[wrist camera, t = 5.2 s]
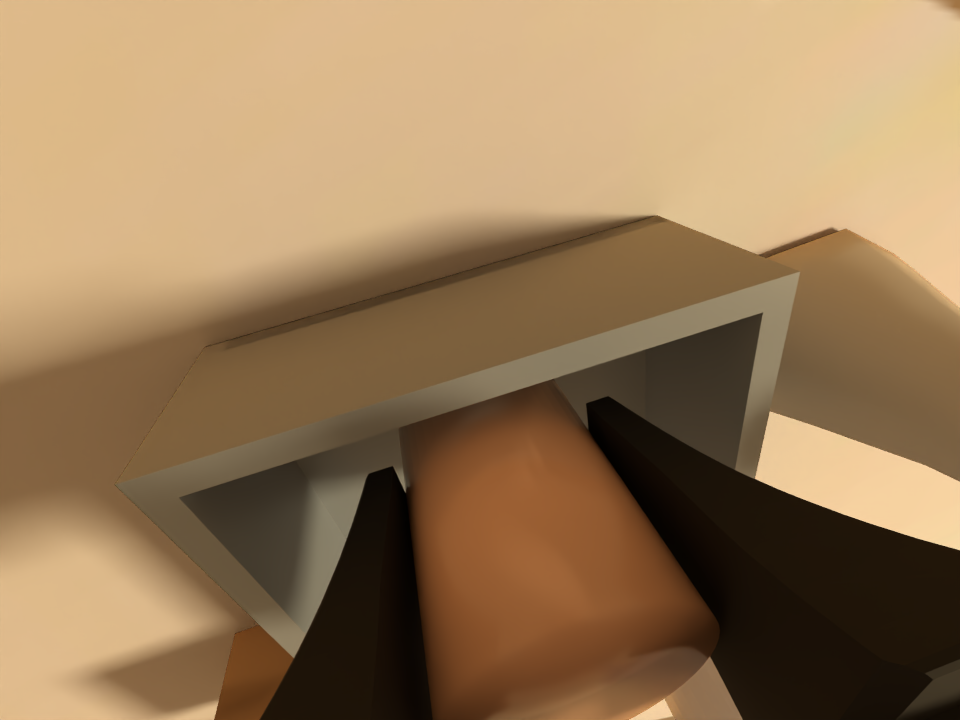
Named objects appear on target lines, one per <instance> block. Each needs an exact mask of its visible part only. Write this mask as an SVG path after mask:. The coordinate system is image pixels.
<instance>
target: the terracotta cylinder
mask: <svg viewBox="0 0 960 720" xmlns="http://www.w3.org/2000/svg"><path fill="white" fill-rule="evenodd" d="M399 440H400V448H401V457H402V465H403V474H404V482H405V490H406V499H407V507H408V516H409V524H410V532H411V541H412V549H413V558H414V566H415V574H416V583H417V591H418V600H419V608H420V616H421V625H422V633H423V642H424V650H425V658H426V667H427V675H428V684H429V692H430V700H431V709H432V717H433V720H629V719H631V718H633V717H635V716H637V715H638V714H640V713H642V712H644V711H645V710H647V709H649V708H650V707H652V706H654V705H655V704H657V703H658V702H660V701H661V700H663V699H664V698H666V697H667V696H669V695H670V694H671V693H673V692H674V691H675V690H677V689H678V688H679V687H681V686H682V685H683V684H684V683H685V682H687V681H688V680H689V679H690V678H691V677H692V676H693V675H694V674H695V673H696V672H697V671H698V670H699V669H700V668H701V667H702V666H703V665H704V664H705V662H706V661H707V660H708V658H709V657H710V656H711V654H712V652H713V651H714V649H715V647H716V645H717V642H718V640H719V634H720V628H719V623H718V621H717V620H716V618H715V616H714V615H713V613H712V612H711V610H710V609H709V607H708V606H707V604H706V603H705V601H704V600H703V599H702V597H701V596H700V594H699V593H698V591H697V590H696V588H695V587H694V585H693V584H692V582H691V581H690V579H689V578H688V576H687V575H686V573H685V572H684V570H683V569H682V568H681V566H680V565H679V563H678V562H677V560H676V559H675V557H674V556H673V554H672V553H671V551H670V550H669V548H668V547H667V545H666V544H665V542H664V541H663V539H662V538H661V537H660V535H659V534H658V532H657V531H656V529H655V528H654V526H653V525H652V523H651V522H650V520H649V519H648V517H647V516H646V514H645V513H644V511H643V510H642V508H641V507H640V506H639V504H638V503H637V501H636V500H635V498H634V497H633V495H632V494H631V492H630V491H629V489H628V488H627V486H626V485H625V483H624V482H623V480H622V479H621V477H620V476H619V475H618V473H617V472H616V470H615V469H614V467H613V466H612V464H611V463H610V461H609V460H608V458H607V457H606V455H605V454H604V452H603V451H602V449H601V448H600V446H599V445H598V443H597V442H596V441H595V439H594V438H593V436H592V435H591V433H590V432H589V430H588V429H587V427H586V426H585V424H584V423H583V421H582V420H581V418H580V417H579V415H578V414H577V412H576V411H575V410H574V408H573V407H572V405H571V404H570V402H569V401H568V399H567V398H566V396H565V395H564V393H563V392H562V390H561V389H560V387H559V386H558V384H557V383H556V381H555V380H554V379H551V380H548V381H544V382H541V383H538V384H535V385H532V386H529V387H526V388H522V389H519V390H516V391H513V392H510V393H507V394H503V395H500V396H497V397H494V398H491V399H488V400H485V401H481V402H478V403H475V404H472V405H469V406H466V407H462V408H459V409H456V410H453V411H450V412H447V413H443V414H440V415H437V416H434V417H431V418H428V419H425V420H421V421H418V422H415V423H412V424H409V425H406V426H402V427H399Z"/></svg>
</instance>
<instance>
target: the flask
mask: <svg viewBox="0 0 960 720" xmlns="http://www.w3.org/2000/svg"><path fill="white" fill-rule="evenodd" d="M767 259H770V260H772V261H775V262H777V263H780V264H782V265H785V266H787V267H790V268H793V269H795V270H798V271H800V275H799V279H798V284H797V289H796V293H795V298H794V302H793V307H792V311H791V316H790V321H789V325H788V330H787V334H786V339H785V343H784V348H783V352H782V357H781V362H780V366H779V371H778V375H777V380H776V384H775V389H774V393H773V398H772V403H771V407H770V411H771V412H774V413H777V414H780V415H783V416H786V417H789V418H792V419H796V420H799V421H802V422H805V423H808V424H811V425H814V426H817V427H820V428H822V429H825V430H828V431H831V432H834V433H836V434H839V435H842V436H845V437H848V438H850V439H853V440H856V441H859V442H862V443H865V444H867V445H870V446H873V447H876V448H879V449H881V450H884V451H887V452H890V453H893V454H895V455H898V456H901V457H904V458H907V459H909V460H912V461H915V462H918V463H921V464H923V465H926V466H928V467H930V468H932V469H935V470H937V471H939V472H941V473H943V474H945V475H947V476H949V477H951V478H954V479H956V480H958V481H960V308H959V307H958V306H957V305H956V304H954V303H953V302H952V301H951V300H950V299H949V298H947V297H946V296H945V295H944V294H943V293H941V292H940V291H939V290H938V289H937V288H936V287H934V286H933V285H932V284H931V283H930V282H928V281H927V280H926V279H925V278H924V277H923V276H921V275H920V274H919V273H918V272H917V271H915V270H914V269H913V268H912V267H910V266H909V265H908V264H907V263H905V262H904V261H903V260H901V259H900V258H899V257H898V256H896V255H895V254H894V253H892V252H890V251H888V250H886V249H884V248H882V247H880V246H878V245H876V244H874V243H872V242H871V241H869V240H867V239H865V238H863V237H861V236H859V235H857V234H855V233H853V232H851V231H849V230H847V229H844V230H841V231H838V232H835V233H833V234H830V235H827V236H824V237H822V238H819V239H816V240H813V241H811V242H808V243H805V244H803V245H800V246H797V247H794V248H792V249H789V250H786V251H783V252H781V253H778V254H775V255H772V256H770V257H767Z"/></svg>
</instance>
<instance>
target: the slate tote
mask: <svg viewBox="0 0 960 720" xmlns="http://www.w3.org/2000/svg"><path fill="white" fill-rule="evenodd" d="M799 275H800V271H798V270H795V269H793V268H790V267H787V266H785V265H782V264H780V263H777V262H775V261H772V260H770V259H767V258H764V257H762V256H759V255H757V254H754V253H752V252H749V251H747V250H744V249H742V248H739V247H736V246H734V245H731V244H729V243H726V242H724V241H721V240H719V239H716V238H713V237H711V236H708V235H706V234H703V233H701V232H698V231H696V230H693V229H690V228H688V227H685V226H683V225H680V224H678V223H675V222H673V221H670V220H667V219H665V218H662V217H660V216H654V217H650V218H647V219H644V220H640V221H637V222H633V223H630V224H626V225H623V226H620V227H616V228H613V229H609V230H606V231H602V232H599V233H596V234H592V235H589V236H585V237H582V238H578V239H575V240H572V241H568V242H565V243H561V244H558V245H554V246H551V247H548V248H544V249H541V250H537V251H534V252H530V253H527V254H524V255H520V256H517V257H513V258H510V259H506V260H503V261H499V262H496V263H493V264H489V265H486V266H482V267H479V268H475V269H472V270H469V271H465V272H462V273H458V274H455V275H451V276H448V277H445V278H441V279H438V280H434V281H431V282H427V283H424V284H421V285H417V286H414V287H410V288H407V289H403V290H400V291H397V292H393V293H390V294H386V295H383V296H379V297H376V298H373V299H369V300H366V301H362V302H359V303H355V304H352V305H349V306H345V307H342V308H338V309H335V310H331V311H328V312H324V313H321V314H318V315H314V316H311V317H307V318H304V319H300V320H297V321H294V322H290V323H287V324H283V325H280V326H276V327H273V328H270V329H266V330H263V331H259V332H256V333H252V334H249V335H246V336H242V337H239V338H235V339H232V340H228V341H225V342H222V343H218V344H215V345H211V346H208V347H204V349H203V350H202V352H201V354H200V355H199V357H198V358H197V360H196V361H195V363H194V364H193V366H192V367H191V369H190V370H189V372H188V373H187V375H186V376H185V378H184V379H183V381H182V383H181V384H180V386H179V387H178V389H177V390H176V392H175V393H174V395H173V396H172V398H171V399H170V401H169V402H168V404H167V405H166V407H165V409H164V410H163V412H162V413H161V415H160V416H159V418H158V419H157V421H156V422H155V424H154V425H153V427H152V428H151V430H150V431H149V433H148V434H147V436H146V438H145V439H144V441H143V442H142V444H141V445H140V447H139V448H138V450H137V451H136V453H135V454H134V456H133V457H132V459H131V460H130V462H129V463H128V465H127V467H126V468H125V470H124V471H123V473H122V474H121V476H120V477H119V479H118V480H117V482H116V483H115V486H116V487H117V488H118V489H119V490H121V491H122V492H123V493H124V494H125V495H126V496H127V497H128V498H129V499H130V500H131V501H132V502H133V503H134V504H135V505H136V506H137V507H138V508H139V509H140V510H141V511H142V512H143V513H144V514H145V515H146V516H147V517H148V518H149V519H150V520H152V521H153V522H154V523H155V524H156V525H157V526H158V527H159V528H160V529H161V530H162V531H163V532H164V533H165V534H166V535H167V536H168V537H169V538H170V539H171V540H172V541H173V542H174V543H175V544H176V545H177V546H178V547H179V548H180V549H181V550H183V551H184V552H185V553H186V554H187V555H188V556H189V557H190V558H191V559H192V560H193V561H194V562H195V563H196V564H197V565H198V566H199V567H200V568H201V569H202V570H203V571H204V572H205V573H206V574H207V575H208V576H209V577H210V578H211V579H212V580H214V581H215V582H216V583H217V584H218V585H219V586H220V587H221V588H222V589H223V590H224V591H225V592H226V593H227V594H228V595H229V596H230V597H231V598H232V599H233V600H234V601H235V602H236V603H237V604H238V605H239V606H240V607H241V608H242V609H244V610H245V611H246V612H247V613H248V614H249V615H250V616H251V617H252V618H253V619H254V620H255V621H256V622H257V623H258V624H259V625H260V626H261V627H262V628H263V629H264V630H265V631H266V632H267V633H268V634H269V635H270V636H271V637H272V638H273V639H275V640H276V641H277V642H278V643H279V644H280V645H281V646H282V647H283V648H284V649H285V650H286V651H287V652H288V653H289V654H290V655H291V656H292V657H293V658H294V657H295V655H296V653H297V651H298V649H299V647H300V645H301V643H302V641H303V639H304V637H305V635H306V633H307V631H308V629H309V627H310V625H311V623H312V621H313V619H314V617H315V614H316V612H317V610H318V608H319V606H320V604H321V601H322V599H323V597H324V594H325V592H326V590H327V587H328V585H329V582H330V580H331V578H332V575H333V573H334V571H335V568H336V566H337V563H338V561H339V558H340V556H341V553H342V550H343V547H344V545H345V542H346V539H347V536H348V534H349V531H350V528H351V525H352V522H353V519H354V516H355V513H356V510H357V507H358V504H359V501H360V497H361V494H362V491H363V487H364V484H365V480H366V477H367V476H368V474H369V473H372V472H375V471H378V470H381V469H384V468H388V467H391V466H393V467H394V469H395V472H396V474H397V476H398V478H399V480H400V482H401V484H402V486H403V489H404V491H405V493H406V490H405V482H404V474H403V465H402V457H401V448H400V440H399V427H402V426H406V425H409V424H412V423H415V422H418V421H421V420H425V419H428V418H431V417H434V416H437V415H440V414H443V413H447V412H450V411H453V410H456V409H459V408H462V407H466V406H469V405H472V404H475V403H478V402H481V401H485V400H488V399H491V398H494V397H497V396H500V395H503V394H507V393H510V392H513V391H516V390H519V389H522V388H526V387H529V386H532V385H535V384H538V383H541V382H544V381H548V380H551V379H554V380H555V381H556V383H557V384H558V386H559V387H560V389H561V390H562V392H563V393H564V395H565V396H566V398H567V399H568V401H569V402H570V404H571V405H572V407H573V408H574V410H575V411H576V412H577V414H578V415H579V417H580V418H581V420H582V421H583V423H584V424H585V426H586V427H587V429H588V419H587V409H586V403H588V402H591V401H594V400H598V399H601V398H604V397H607V396H609V397H611V398H612V399H614V400H616V401H617V402H619V403H620V404H622V405H623V406H625V407H627V408H628V409H630V410H631V411H633V412H634V413H636V414H637V415H639V416H641V417H642V418H644V419H645V420H647V421H649V422H650V423H652V424H653V425H655V426H657V427H658V428H660V429H662V430H663V431H665V432H667V433H668V434H670V435H672V436H673V437H675V438H677V439H679V440H680V441H682V442H684V443H685V444H687V445H689V446H691V447H692V448H694V449H696V450H698V451H700V452H701V453H703V454H705V455H707V456H709V457H711V458H713V459H715V460H717V461H719V462H720V463H722V464H724V465H726V466H728V467H730V468H732V469H734V470H736V471H738V472H740V473H743V474H745V475H747V476H749V477H751V478H754V479H755V476H756V471H757V466H758V462H759V457H760V453H761V448H762V444H763V439H764V435H765V430H766V425H767V421H768V416H769V412H770V407H771V403H772V398H773V393H774V389H775V384H776V380H777V375H778V371H779V366H780V362H781V357H782V352H783V348H784V343H785V339H786V334H787V330H788V325H789V321H790V316H791V311H792V307H793V302H794V298H795V293H796V289H797V284H798V279H799Z"/></svg>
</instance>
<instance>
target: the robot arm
mask: <svg viewBox="0 0 960 720" xmlns="http://www.w3.org/2000/svg"><path fill="white" fill-rule="evenodd" d="M586 409H587V419H588V430H589V432H590V433H591V435H592V436H593V438H594V439H595V441H596V442H597V443H598V445H599V446H600V448H601V449H602V451H603V452H604V454H605V455H606V457H607V458H608V460H609V461H610V463H611V464H612V466H613V467H614V469H615V470H616V472H617V473H618V475H619V476H620V477H621V479H622V480H623V482H624V483H625V485H626V486H627V488H628V489H629V491H630V492H631V494H632V495H633V497H634V498H635V500H636V501H637V503H638V504H639V506H640V507H641V508H642V510H643V511H644V513H645V514H646V516H647V517H648V519H649V520H650V522H651V523H652V525H653V526H654V528H655V529H656V531H657V532H658V534H659V535H660V537H661V538H662V539H663V541H664V542H665V544H666V545H667V547H668V548H669V550H670V551H671V553H672V554H673V556H674V557H675V559H676V560H677V562H678V563H679V565H680V566H681V568H682V569H683V570H684V572H685V573H686V575H687V576H688V578H689V579H690V581H691V582H692V584H693V585H694V587H695V588H696V590H697V591H698V593H699V594H700V596H701V597H702V599H703V600H704V601H705V603H706V604H707V606H708V607H709V609H710V610H711V612H712V613H713V615H714V616H715V618H716V620H717V621H718V623H719V628H720V634H719V640H718V642H717V645H716V647H715V649H714V651H713V652H712V654H711V656H710V657H709V658H708V660H707V661H706V662H705V664H704V665H703V666H702V667H701V668H700V669H699V670H698V671H697V672H696V673H695V674H694V675H693V676H692V677H691V678H690V679H689V680H688V681H687V682H685V683H684V684H683V685H682V686H681V687H679V688H678V689H677V690H675V691H674V692H673V693H671V694H670V695H669V696H667V697H666V698H664V699H665V701H666V703H667V705H668V707H669V709H670V711H671V713H672V715H673V717H674V719H675V720H960V550H957V549H953V548H949V547H946V546H942V545H938V544H935V543H931V542H927V541H924V540H920V539H917V538H914V537H910V536H907V535H904V534H901V533H898V532H895V531H891V530H888V529H885V528H882V527H879V526H876V525H873V524H869V523H866V522H864V521H861V520H858V519H855V518H852V517H849V516H846V515H843V514H841V513H838V512H835V511H833V510H830V509H827V508H825V507H822V506H819V505H816V504H814V503H811V502H808V501H806V500H803V499H800V498H798V497H795V496H793V495H791V494H788V493H786V492H783V491H781V490H778V489H776V488H774V487H772V486H769V485H767V484H765V483H763V482H760V481H758V480H756V479H754V478H751V477H749V476H747V475H745V474H743V473H740V472H738V471H736V470H734V469H732V468H730V467H728V466H726V465H724V464H722V463H720V462H719V461H717V460H715V459H713V458H711V457H709V456H707V455H705V454H703V453H701V452H700V451H698V450H696V449H694V448H692V447H691V446H689V445H687V444H685V443H684V442H682V441H680V440H679V439H677V438H675V437H673V436H672V435H670V434H668V433H667V432H665V431H663V430H662V429H660V428H658V427H657V426H655V425H653V424H652V423H650V422H649V421H647V420H645V419H644V418H642V417H641V416H639V415H637V414H636V413H634V412H633V411H631V410H630V409H628V408H627V407H625V406H623V405H622V404H620V403H619V402H617V401H616V400H614V399H612V398H611V397H609V396H607V397H604V398H601V399H598V400H594V401H591V402H588V403H586ZM259 720H433V717H432V709H431V700H430V692H429V684H428V675H427V667H426V658H425V650H424V642H423V633H422V625H421V616H420V608H419V600H418V591H417V583H416V574H415V566H414V558H413V549H412V541H411V532H410V524H409V516H408V507H407V499H406V493H405V491H404V489H403V486H402V484H401V482H400V480H399V478H398V476H397V474H396V472H395V469H394V467H393V466H391V467H388V468H384V469H381V470H378V471H375V472H372V473H369V474H368V476H367V477H366V480H365V484H364V487H363V491H362V494H361V497H360V501H359V504H358V507H357V510H356V513H355V516H354V519H353V522H352V525H351V528H350V531H349V534H348V536H347V539H346V542H345V545H344V547H343V550H342V553H341V556H340V558H339V561H338V563H337V566H336V568H335V571H334V573H333V575H332V578H331V580H330V582H329V585H328V587H327V590H326V592H325V594H324V597H323V599H322V601H321V604H320V606H319V608H318V610H317V612H316V614H315V617H314V619H313V621H312V623H311V625H310V627H309V629H308V631H307V633H306V635H305V637H304V639H303V641H302V643H301V645H300V647H299V649H298V651H297V653H296V655H295V657H294V659H293V661H292V662H291V664H290V666H289V668H288V670H287V672H286V673H285V675H284V677H283V679H282V681H281V683H280V684H279V686H278V688H277V690H276V692H275V693H274V695H273V697H272V699H271V700H270V702H269V704H268V706H267V707H266V709H265V711H264V713H263V714H262V716H261V718H260V719H259Z"/></svg>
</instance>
